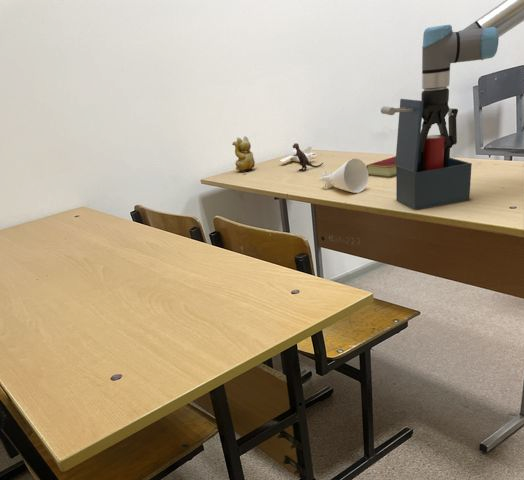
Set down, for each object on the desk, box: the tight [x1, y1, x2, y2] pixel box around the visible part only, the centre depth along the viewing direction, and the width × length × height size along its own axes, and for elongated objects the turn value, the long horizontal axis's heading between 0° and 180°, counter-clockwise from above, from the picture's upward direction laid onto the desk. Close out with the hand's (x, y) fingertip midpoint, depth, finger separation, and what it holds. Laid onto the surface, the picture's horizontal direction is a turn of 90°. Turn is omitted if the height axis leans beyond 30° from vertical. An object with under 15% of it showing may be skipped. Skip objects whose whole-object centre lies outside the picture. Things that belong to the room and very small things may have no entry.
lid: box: [380, 98, 423, 172], centre depth 155 cm, size 19×14×8 cm
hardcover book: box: [365, 155, 398, 179], centre depth 208 cm, size 12×21×4 cm, turn 127°
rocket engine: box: [318, 157, 370, 194], centre depth 192 cm, size 12×12×18 cm
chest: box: [395, 156, 473, 211], centre depth 163 cm, size 18×14×11 cm
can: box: [423, 134, 445, 171], centre depth 160 cm, size 6×6×11 cm
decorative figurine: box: [231, 135, 256, 173], centre depth 245 cm, size 10×8×15 cm
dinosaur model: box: [292, 142, 324, 172], centre depth 231 cm, size 4×12×15 cm
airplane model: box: [278, 146, 317, 163], centre depth 248 cm, size 20×20×8 cm
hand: (432, 172), depth 162 cm, fingers closed on can, 6 cm apart
